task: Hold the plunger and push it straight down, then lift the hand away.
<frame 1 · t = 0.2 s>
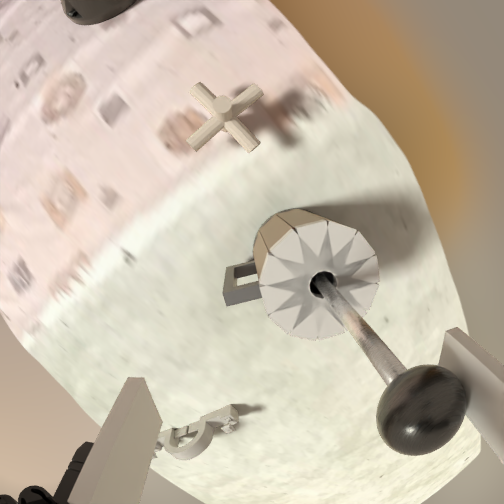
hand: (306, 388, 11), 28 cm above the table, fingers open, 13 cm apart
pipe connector: (226, 125, 35), on the table
gateway: (188, 421, 46), on the table
plunger: (353, 321, 18), point 21 cm above the table, slide at -0.4 cm, touching gripper
beige many-sided block: (294, 250, 39), on the table
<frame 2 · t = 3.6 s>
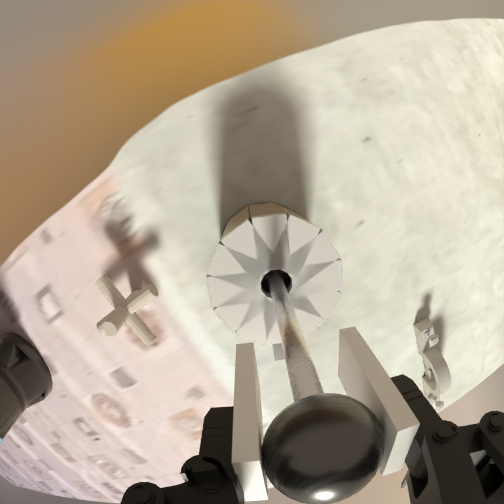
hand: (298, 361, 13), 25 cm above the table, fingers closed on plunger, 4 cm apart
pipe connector: (138, 295, 38), on the table
gateway: (420, 362, 43), on the table
plunger: (288, 326, 16), point 21 cm above the table, slide at 0.0 cm, touching gripper
beige many-sided block: (265, 246, 37), on the table
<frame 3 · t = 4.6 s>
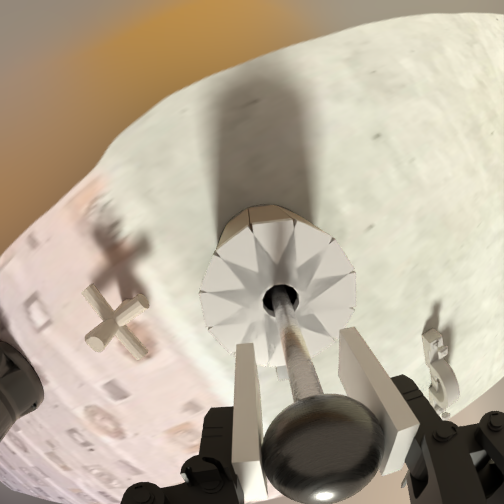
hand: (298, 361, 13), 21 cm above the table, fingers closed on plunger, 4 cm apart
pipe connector: (129, 304, 35), on the table
gateway: (427, 372, 40), on the table
plunger: (288, 326, 16), point 18 cm above the table, slide at 3.4 cm, touching gripper
beige many-sided block: (266, 252, 33), on the table
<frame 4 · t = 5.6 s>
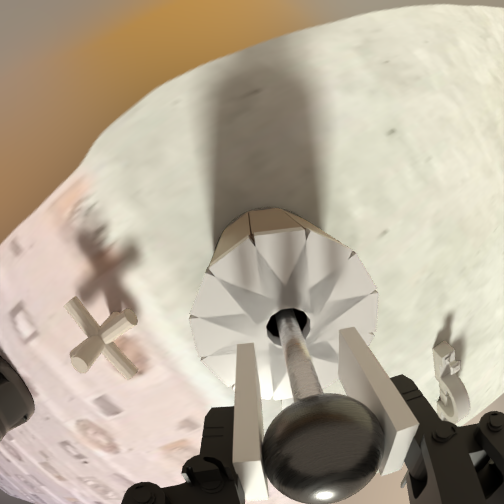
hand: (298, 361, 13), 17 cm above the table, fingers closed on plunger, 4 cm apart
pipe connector: (118, 317, 31), on the table
gateway: (436, 386, 36), on the table
plunger: (288, 326, 16), point 14 cm above the table, slide at 7.2 cm, touching gripper
beige many-sided block: (268, 261, 30), on the table
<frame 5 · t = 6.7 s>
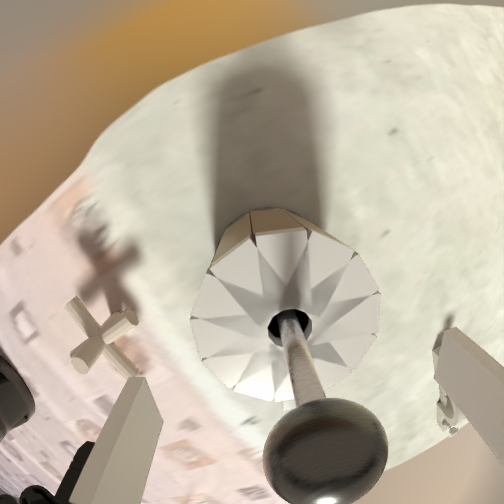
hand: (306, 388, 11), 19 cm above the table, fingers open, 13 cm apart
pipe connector: (118, 318, 31), on the table
gateway: (436, 387, 36), on the table
plunger: (290, 328, 16), point 14 cm above the table, slide at 7.1 cm
beige many-sided block: (270, 262, 30), on the table
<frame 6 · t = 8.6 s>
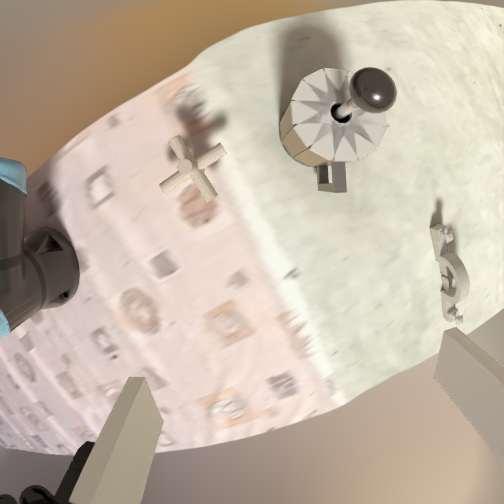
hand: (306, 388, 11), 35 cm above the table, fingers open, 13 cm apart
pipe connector: (199, 169, 43), on the table
gateway: (438, 273, 48), on the table
plunger: (341, 112, 28), point 14 cm above the table, slide at 7.1 cm
beige many-sided block: (314, 132, 42), on the table
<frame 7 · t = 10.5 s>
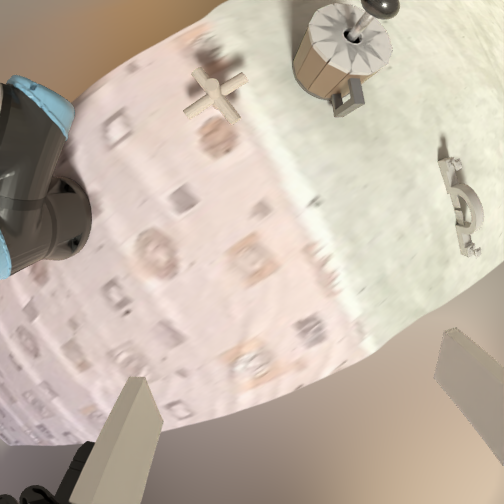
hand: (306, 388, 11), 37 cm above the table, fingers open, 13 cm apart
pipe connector: (218, 104, 42), on the table
gateway: (450, 208, 47), on the table
plunger: (352, 35, 27), point 14 cm above the table, slide at 7.1 cm
beige many-sided block: (325, 70, 40), on the table
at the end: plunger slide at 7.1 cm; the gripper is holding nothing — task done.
